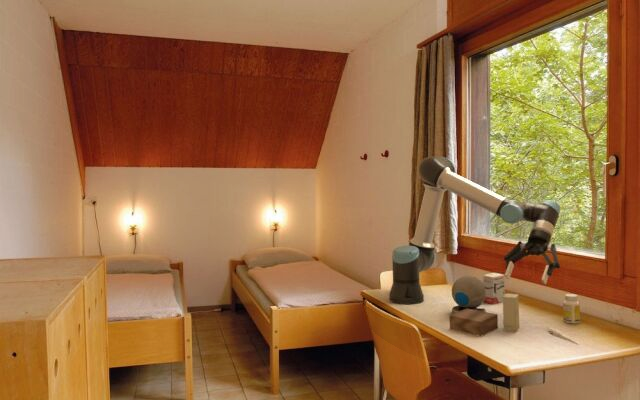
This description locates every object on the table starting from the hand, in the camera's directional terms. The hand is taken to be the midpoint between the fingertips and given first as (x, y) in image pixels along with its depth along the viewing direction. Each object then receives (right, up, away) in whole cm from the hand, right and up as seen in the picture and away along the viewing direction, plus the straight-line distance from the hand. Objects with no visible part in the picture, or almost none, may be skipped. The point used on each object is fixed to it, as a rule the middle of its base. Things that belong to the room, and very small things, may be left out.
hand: (524, 279), depth 175 cm
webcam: (-16, -16, +14) cm, 27 cm away
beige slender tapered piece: (+6, -17, -16) cm, 24 cm away
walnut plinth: (-20, -17, -5) cm, 27 cm away
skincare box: (-8, -17, -7) cm, 19 cm away
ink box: (0, -15, +31) cm, 34 cm away
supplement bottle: (+17, -16, 0) cm, 23 cm away
